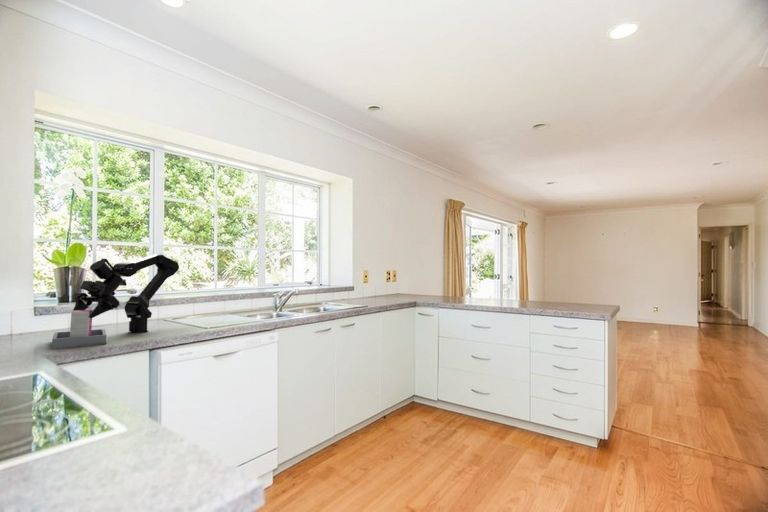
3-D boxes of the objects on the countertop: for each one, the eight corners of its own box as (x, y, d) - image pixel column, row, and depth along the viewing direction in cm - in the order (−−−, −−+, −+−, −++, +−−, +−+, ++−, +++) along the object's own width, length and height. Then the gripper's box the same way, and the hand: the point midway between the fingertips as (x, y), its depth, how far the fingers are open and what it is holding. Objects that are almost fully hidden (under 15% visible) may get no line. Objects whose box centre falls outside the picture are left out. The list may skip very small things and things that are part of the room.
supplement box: (88, 341, 153) (89, 311, 153) (68, 342, 150) (69, 311, 150) (91, 338, 158) (92, 309, 158) (73, 339, 155) (74, 309, 156)
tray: (104, 337, 165) (104, 328, 165) (106, 344, 152) (106, 335, 152) (54, 341, 155) (54, 332, 155) (51, 349, 143) (52, 339, 143)
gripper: (77, 272, 162) (47, 302, 151) (113, 274, 157) (85, 305, 146) (96, 290, 169) (68, 320, 159) (130, 292, 164) (104, 323, 153)
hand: (81, 317), depth 154 cm, fingers open, 9 cm apart
